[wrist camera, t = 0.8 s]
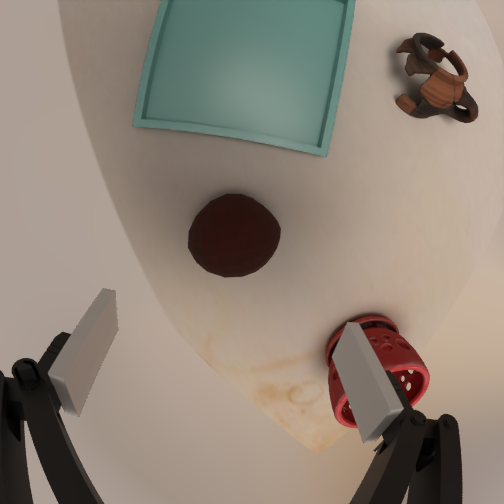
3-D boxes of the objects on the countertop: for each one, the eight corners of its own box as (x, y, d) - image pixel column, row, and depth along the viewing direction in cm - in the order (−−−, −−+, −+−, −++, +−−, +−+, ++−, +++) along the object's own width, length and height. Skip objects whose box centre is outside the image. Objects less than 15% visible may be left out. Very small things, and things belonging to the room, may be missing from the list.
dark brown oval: (280, 249, 33) (292, 282, 26) (201, 263, 34) (192, 299, 27) (269, 179, 30) (279, 195, 23) (183, 196, 30) (167, 218, 23)
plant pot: (365, 291, 36) (404, 349, 26) (408, 331, 40) (444, 383, 29) (297, 352, 40) (314, 419, 29) (350, 381, 44) (371, 437, 33)
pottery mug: (370, 95, 27) (401, 49, 19) (387, 56, 28) (412, 15, 20) (452, 153, 27) (495, 124, 19) (459, 106, 28) (492, 77, 20)
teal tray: (177, -28, 19) (174, -35, 18) (349, 2, 22) (356, -4, 20) (138, 126, 27) (132, 126, 25) (321, 155, 29) (326, 157, 27)
